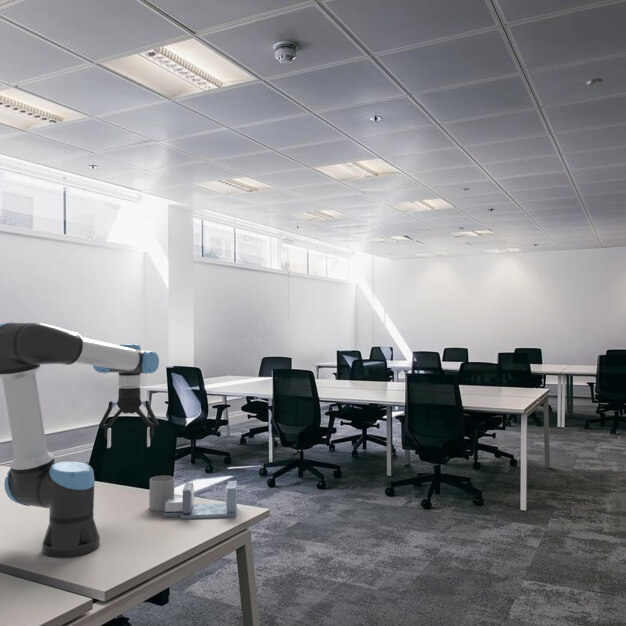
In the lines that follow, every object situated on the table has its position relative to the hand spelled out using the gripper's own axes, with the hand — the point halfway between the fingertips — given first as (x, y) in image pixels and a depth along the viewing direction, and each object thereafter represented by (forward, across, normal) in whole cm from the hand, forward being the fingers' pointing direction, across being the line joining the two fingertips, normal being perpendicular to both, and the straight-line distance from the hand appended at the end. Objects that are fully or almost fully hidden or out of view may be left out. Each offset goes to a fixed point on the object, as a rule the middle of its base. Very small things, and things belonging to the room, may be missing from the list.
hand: (128, 446), depth 210 cm
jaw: (+19, -19, +13) cm, 30 cm away
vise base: (+20, -26, +14) cm, 36 cm away
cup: (+21, -12, +5) cm, 24 cm away
